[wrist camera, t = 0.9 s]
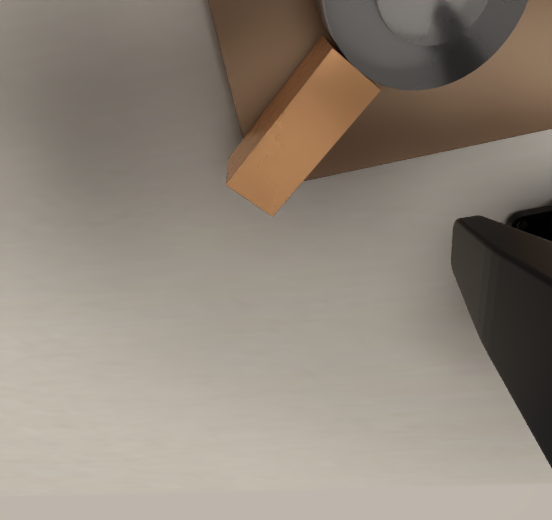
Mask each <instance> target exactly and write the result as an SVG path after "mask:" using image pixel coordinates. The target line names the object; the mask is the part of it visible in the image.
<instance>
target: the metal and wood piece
mask: <svg viewBox="0 0 552 520" xmlns="http://www.w3.org/2000/svg"><path fill="white" fill-rule="evenodd" d="M315 2H316V5H317V9H318V13H319V16H320V18H321V21H322V24H323V26H324V28H325V29H326V31H327V33H328V35H329V36H330V38H331V39H332V40H333V42H334V43H335V44H336V46H337V47H338V48H339V49H338V48H337V47H336V46H335V45H334V44H333V43H332V42H330V41H329V40H328V39H327V38H326V37H325V36H324V35H322V37H321V38H320V39H319V40H318V42H317V43H316V44H315V46H314V47H313V48H312V50H311V51H310V52H309V54H308V55H307V56H306V57H305V59H304V60H303V61H302V63H301V64H300V65H299V67H298V68H297V69H296V71H295V72H294V73H293V74H292V76H291V77H290V78H289V80H288V81H287V82H286V84H285V85H284V86H283V88H282V89H281V90H280V91H279V93H278V94H277V95H276V97H275V98H274V99H273V101H272V102H271V103H270V105H269V106H268V107H267V109H266V110H265V111H264V112H263V114H262V115H261V116H260V118H259V119H258V120H257V122H256V123H255V124H254V126H253V127H252V128H251V129H250V131H249V132H248V133H247V135H246V136H245V137H244V139H243V140H242V141H241V143H240V144H239V145H238V146H237V148H236V149H235V150H234V152H233V153H232V154H231V156H230V157H229V162H228V171H227V180H226V185H227V186H228V187H230V188H231V189H233V190H234V191H236V192H237V193H239V194H240V195H242V196H243V197H244V198H246V199H247V200H249V201H250V202H252V203H253V204H255V205H256V206H258V207H259V208H261V209H262V210H263V211H265V212H266V213H268V214H269V215H271V216H272V217H273V215H274V214H275V213H276V212H277V211H278V210H279V208H280V207H281V206H282V205H283V204H284V203H285V201H286V200H287V199H288V198H289V197H290V196H291V194H292V193H293V192H294V191H295V190H296V189H297V187H298V186H299V185H300V184H301V183H302V182H303V180H304V179H305V178H306V177H307V176H308V175H309V173H310V172H311V171H312V170H313V169H314V168H315V166H316V165H317V164H318V163H319V162H320V161H321V159H322V158H323V157H324V156H325V155H326V154H327V152H328V151H329V150H330V149H331V148H332V147H333V145H334V144H335V143H336V142H337V141H338V140H339V138H340V137H341V136H342V135H343V134H344V133H345V131H346V130H347V129H348V128H349V127H350V126H351V124H352V123H353V122H354V121H355V120H356V119H357V118H358V116H359V115H360V114H361V113H362V112H363V111H364V109H365V108H366V107H367V106H368V105H369V104H370V102H371V101H372V100H373V99H374V98H375V97H376V95H377V94H378V93H379V92H380V91H381V90H380V88H379V87H378V86H377V85H376V84H375V83H374V81H375V82H377V83H379V84H382V85H385V86H388V87H391V88H396V89H400V90H413V91H415V90H427V89H432V88H437V87H441V86H444V85H447V84H450V83H453V82H455V81H457V80H459V79H461V78H463V77H465V76H467V75H468V74H470V73H471V72H473V71H475V70H476V69H477V68H479V67H480V66H481V65H483V64H484V63H485V62H486V61H488V60H489V59H490V58H491V57H492V56H493V55H494V54H495V53H496V52H497V51H498V50H499V48H500V47H501V46H502V45H503V44H504V42H505V41H506V40H507V39H508V37H509V36H510V34H511V33H512V31H513V30H514V29H515V27H516V25H517V23H518V22H519V20H520V18H521V16H522V14H523V12H524V10H525V7H526V5H527V3H528V0H315ZM373 80H374V81H373Z"/></svg>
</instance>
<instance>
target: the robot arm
mask: <svg viewBox="0 0 552 520" xmlns="http://www.w3.org/2000/svg"><path fill="white" fill-rule="evenodd" d="M521 221H524V222H523V224H522V225H521V226H519V227H517V224H518V223H519V222H521ZM451 265H452V270H453V273H454V276H455V278H456V281H457V283H458V286H459V288H460V291H461V293H462V296H463V298H464V301H465V303H466V306H467V308H468V311H469V313H470V315H471V318H472V320H473V323H474V325H475V328H476V330H477V333H478V335H479V337H480V339H481V342H482V344H483V346H484V347H485V349H486V351H487V353H488V355H489V357H490V359H491V360H492V362H493V364H494V366H495V368H496V369H497V371H498V373H499V375H500V376H501V378H502V380H503V382H504V384H505V385H506V387H507V389H508V391H509V393H510V394H511V396H512V398H513V400H514V402H515V403H516V405H517V407H518V409H519V410H520V412H521V414H522V416H523V418H524V419H525V421H526V423H527V425H528V427H529V428H530V430H531V432H532V434H533V435H534V437H535V439H536V441H537V443H538V444H539V446H540V448H541V450H542V452H543V453H544V455H545V457H546V459H547V461H548V462H549V464H550V466H551V468H552V206H548V207H543V208H538V209H533V210H528V211H523V212H518V213H516V214H514V215H512V216H511V217H510V218H509V220H508V223H507V225H505V224H502V223H499V222H496V221H494V220H491V219H488V218H485V217H483V216H471V217H465V218H459V219H457V220H456V221H455V223H454V226H453V236H452V251H451Z"/></svg>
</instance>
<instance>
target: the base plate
mask: <svg viewBox="0 0 552 520" xmlns="http://www.w3.org/2000/svg"><path fill="white" fill-rule="evenodd" d="M208 2H209V5H210V9H211V13H212V17H213V21H214V25H215V29H216V33H217V37H218V41H219V45H220V49H221V53H222V57H223V61H224V65H225V69H226V73H227V77H228V81H229V85H230V89H231V93H232V97H233V101H234V105H235V109H236V113H237V117H238V121H239V125H240V128H241V132H242V136H243V139H244V137H245V136H246V135H247V133H248V132H249V131H250V129H251V128H252V127H253V126H254V124H255V123H256V122H257V120H258V119H259V118H260V116H261V115H262V114H263V112H264V111H265V110H266V109H267V107H268V106H269V105H270V103H271V102H272V101H273V99H274V98H275V97H276V95H277V94H278V93H279V91H280V90H281V89H282V88H283V86H284V85H285V84H286V82H287V81H288V80H289V78H290V77H291V76H292V74H293V73H294V72H295V71H296V69H297V68H298V67H299V65H300V64H301V63H302V61H303V60H304V59H305V57H306V56H307V55H308V54H309V52H310V51H311V50H312V48H313V47H314V46H315V44H316V43H317V42H318V40H319V39H320V38H321V37H322V35H324V36H325V37H326V38H327V39H328V40H329V41H330V42H332V43H333V44H334V45H335V46H336V44H335V43H334V42H333V40H332V39H331V38H330V36H329V35H328V33H327V31H326V29H325V28H324V26H323V24H322V21H321V18H320V16H319V13H318V9H317V5H316V2H315V0H208ZM336 47H337V46H336ZM337 48H338V47H337ZM338 49H339V48H338ZM373 81H374V80H373ZM374 83H375V84H376V85H377V86H378V87H379V88H380V90H381V91H380V92H379V93H378V94H377V95H376V97H375V98H374V99H373V100H372V101H371V102H370V104H369V105H368V106H367V107H366V108H365V109H364V111H363V112H362V113H361V114H360V115H359V116H358V118H357V119H356V120H355V121H354V122H353V123H352V124H351V126H350V127H349V128H348V129H347V130H346V131H345V133H344V134H343V135H342V136H341V137H340V138H339V140H338V141H337V142H336V143H335V144H334V145H333V147H332V148H331V149H330V150H329V151H328V152H327V154H326V155H325V156H324V157H323V158H322V159H321V161H320V162H319V163H318V164H317V165H316V166H315V168H314V169H313V170H312V171H311V172H310V173H309V175H308V176H307V177H306V178H305V179H304V180H303V181H307V180H311V179H316V178H321V177H326V176H330V175H335V174H340V173H344V172H349V171H354V170H359V169H363V168H368V167H373V166H378V165H382V164H387V163H392V162H397V161H401V160H406V159H411V158H416V157H420V156H425V155H430V154H434V153H439V152H444V151H449V150H453V149H458V148H463V147H468V146H472V145H477V144H482V143H487V142H491V141H496V140H501V139H506V138H510V137H515V136H520V135H524V134H529V133H534V132H539V131H543V130H548V129H552V0H528V3H527V5H526V7H525V10H524V12H523V14H522V16H521V18H520V20H519V22H518V23H517V25H516V27H515V29H514V30H513V31H512V33H511V34H510V36H509V37H508V39H507V40H506V41H505V42H504V44H503V45H502V46H501V47H500V48H499V50H498V51H497V52H496V53H495V54H494V55H493V56H492V57H491V58H490V59H489V60H488V61H486V62H485V63H484V64H483V65H481V66H480V67H479V68H477V69H476V70H475V71H473V72H471V73H470V74H468V75H467V76H465V77H463V78H461V79H459V80H457V81H455V82H453V83H450V84H447V85H444V86H441V87H437V88H432V89H427V90H415V91H413V90H400V89H396V88H391V87H388V86H385V85H382V84H379V83H377V82H375V81H374Z"/></svg>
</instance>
